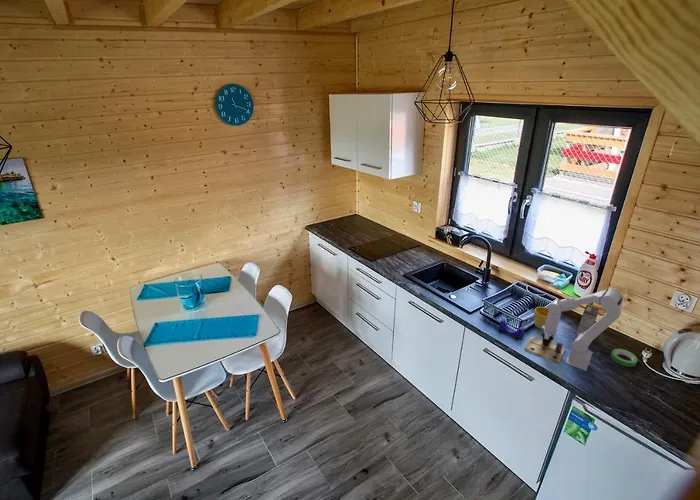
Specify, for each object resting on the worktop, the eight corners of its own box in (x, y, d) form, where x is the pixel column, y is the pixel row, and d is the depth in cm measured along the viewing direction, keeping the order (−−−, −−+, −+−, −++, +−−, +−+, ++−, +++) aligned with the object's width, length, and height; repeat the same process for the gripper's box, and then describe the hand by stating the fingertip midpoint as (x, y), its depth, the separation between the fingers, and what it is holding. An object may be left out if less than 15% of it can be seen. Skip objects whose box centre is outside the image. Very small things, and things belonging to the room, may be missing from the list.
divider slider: (550, 346, 210) (553, 336, 207) (546, 354, 204) (549, 344, 201) (542, 343, 212) (545, 333, 210) (538, 351, 206) (540, 341, 204)
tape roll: (633, 355, 206) (635, 351, 205) (638, 369, 197) (640, 365, 196) (609, 350, 210) (610, 346, 209) (612, 363, 201) (614, 359, 200)
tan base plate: (564, 350, 209) (567, 340, 207) (558, 363, 200) (561, 354, 197) (531, 337, 219) (533, 328, 216) (524, 349, 209) (526, 340, 207)
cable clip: (522, 335, 221) (525, 326, 218) (519, 338, 218) (521, 329, 215) (502, 326, 228) (504, 317, 226) (498, 329, 226) (500, 320, 223)
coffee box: (579, 327, 227) (586, 304, 220) (592, 332, 223) (599, 308, 217) (575, 335, 221) (583, 311, 214) (588, 340, 217) (596, 315, 210)
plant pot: (552, 324, 230) (556, 310, 226) (549, 333, 222) (553, 319, 218) (533, 318, 235) (536, 304, 231) (529, 327, 227) (533, 312, 223)
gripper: (547, 312, 211) (542, 333, 216) (540, 325, 200) (534, 347, 206) (561, 317, 207) (555, 338, 212) (555, 331, 196) (549, 352, 202)
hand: (546, 343), depth 209 cm, fingers open, 5 cm apart
